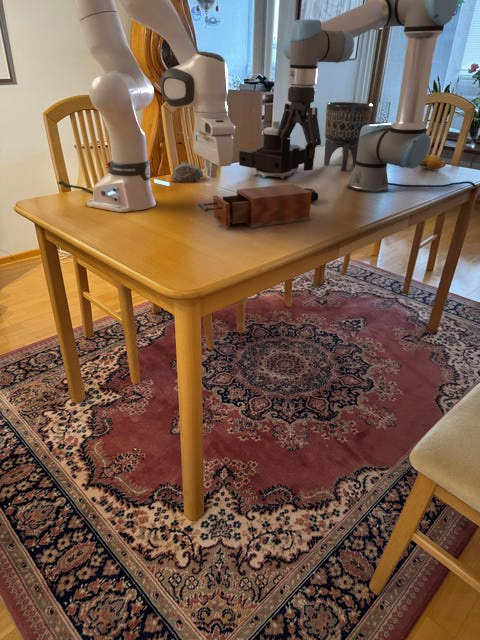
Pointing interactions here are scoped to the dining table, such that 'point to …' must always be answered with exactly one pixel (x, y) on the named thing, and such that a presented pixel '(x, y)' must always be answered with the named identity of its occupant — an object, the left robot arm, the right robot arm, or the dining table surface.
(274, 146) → the mechanical component
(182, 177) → the rock
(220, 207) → the drawer
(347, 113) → the planter
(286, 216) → the cabinet
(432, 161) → the toy
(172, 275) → the dining table surface
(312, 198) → the tape measure
